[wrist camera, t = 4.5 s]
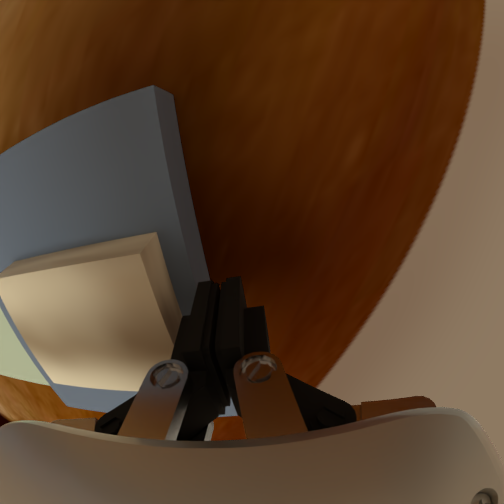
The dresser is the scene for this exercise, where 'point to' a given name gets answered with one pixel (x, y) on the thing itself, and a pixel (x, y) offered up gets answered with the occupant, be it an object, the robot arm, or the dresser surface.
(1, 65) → the dresser surface
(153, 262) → the birch block
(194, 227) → the slate blue tile
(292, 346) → the dresser surface
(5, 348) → the mat
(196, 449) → the robot arm
